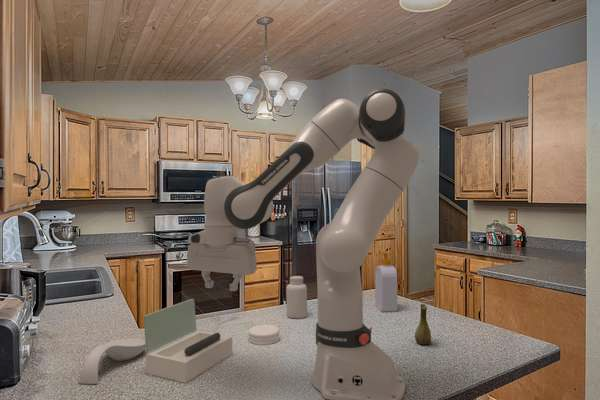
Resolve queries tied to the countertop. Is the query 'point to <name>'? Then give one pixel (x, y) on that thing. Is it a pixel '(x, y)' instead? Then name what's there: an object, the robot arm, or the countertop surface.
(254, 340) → the beige short cylinder
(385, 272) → the soap bottle
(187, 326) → the cover
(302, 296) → the pill bottle
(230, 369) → the countertop surface
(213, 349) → the beige rectangular box
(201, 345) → the black rounded rod
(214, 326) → the scissors
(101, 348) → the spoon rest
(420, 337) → the olive green bottle shape
